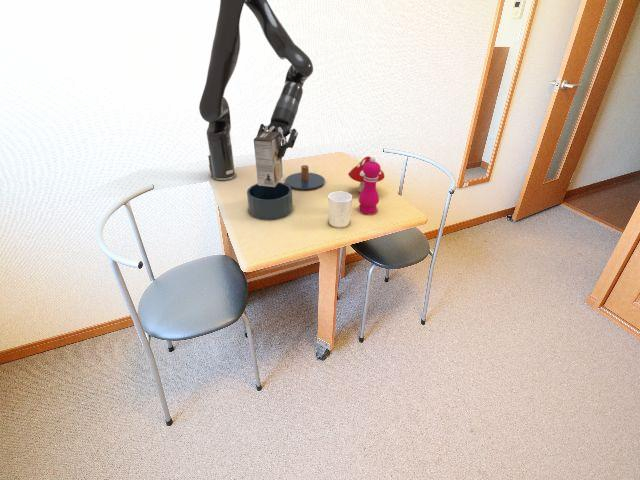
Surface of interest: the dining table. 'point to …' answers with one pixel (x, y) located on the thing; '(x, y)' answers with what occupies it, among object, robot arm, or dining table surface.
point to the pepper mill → (369, 188)
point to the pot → (270, 201)
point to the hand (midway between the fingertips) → (269, 155)
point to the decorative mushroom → (362, 173)
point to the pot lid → (305, 179)
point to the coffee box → (268, 158)
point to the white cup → (339, 208)
